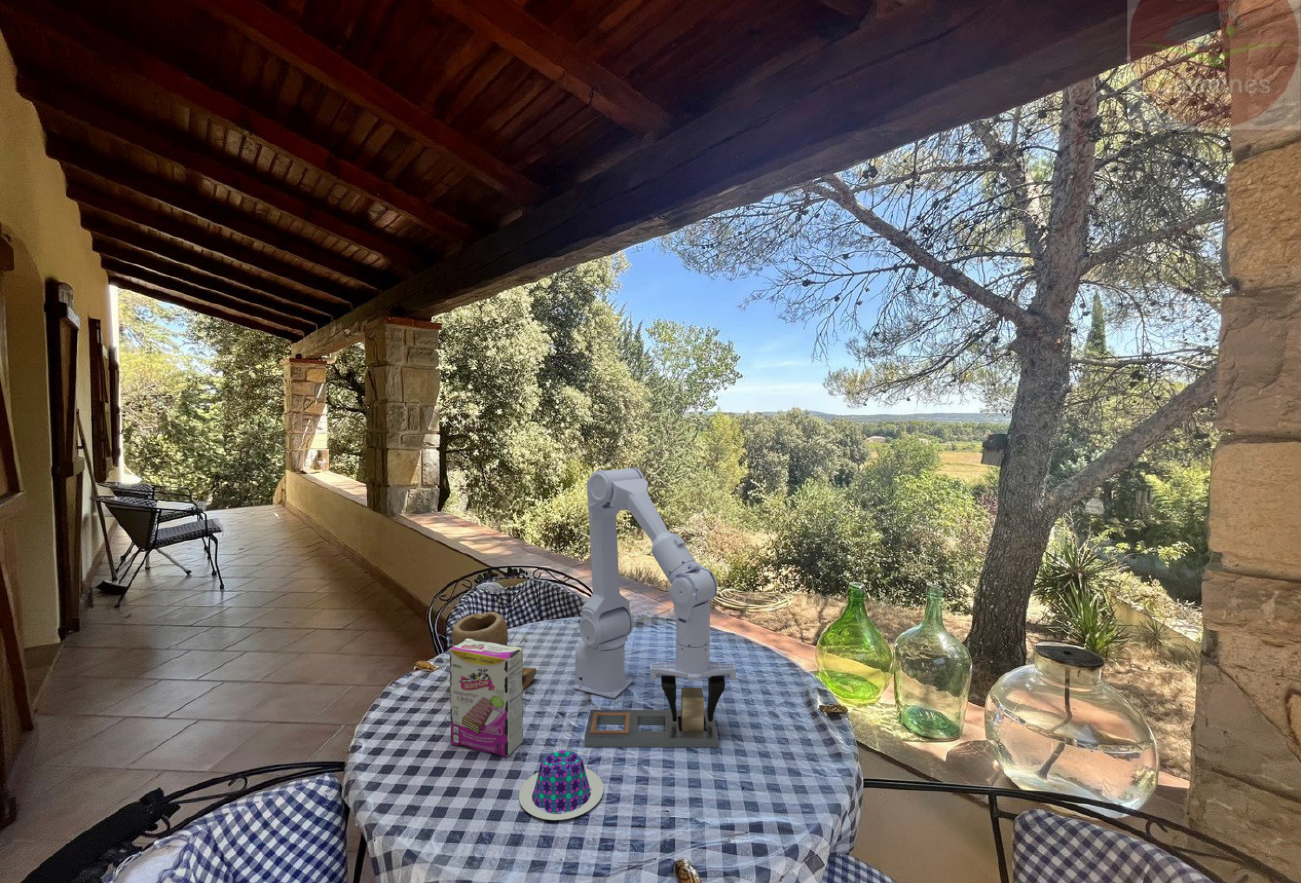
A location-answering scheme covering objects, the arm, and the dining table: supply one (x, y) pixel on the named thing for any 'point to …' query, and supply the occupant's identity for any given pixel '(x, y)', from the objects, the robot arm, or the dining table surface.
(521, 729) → the candy bar box
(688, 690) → the birch peg
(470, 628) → the stone cup
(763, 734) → the dining table surface
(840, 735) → the dining table surface
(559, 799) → the pudding
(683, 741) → the gray peg hole board
